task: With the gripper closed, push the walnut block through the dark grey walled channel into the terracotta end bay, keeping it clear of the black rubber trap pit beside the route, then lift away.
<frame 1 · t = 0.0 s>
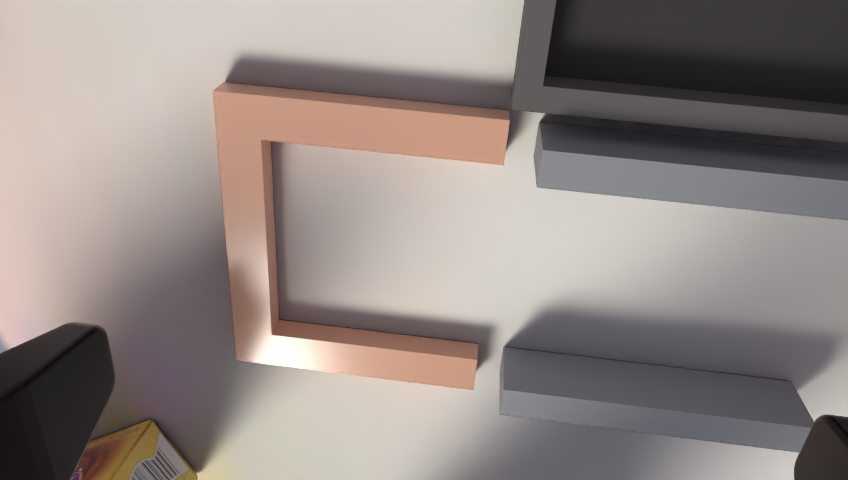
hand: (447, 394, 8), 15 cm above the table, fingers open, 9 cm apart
candy box: (106, 463, 32), on the table
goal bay: (381, 244, 25), on the table
walled tunnel: (671, 276, 24), on the table
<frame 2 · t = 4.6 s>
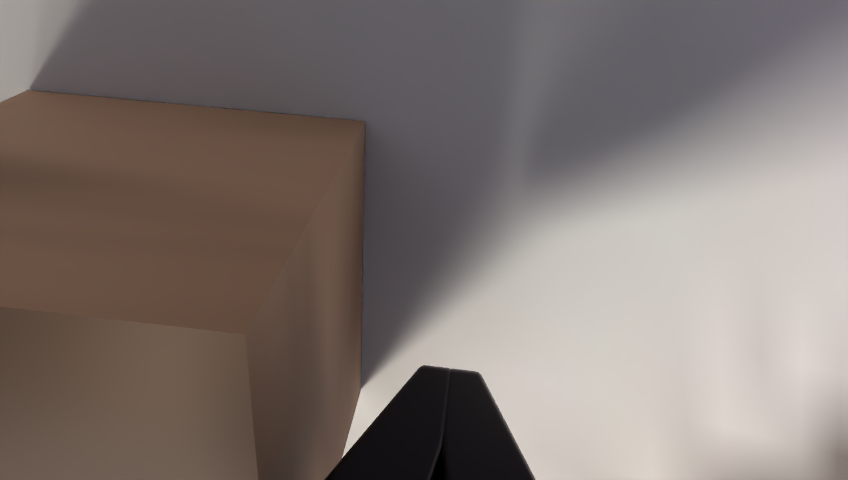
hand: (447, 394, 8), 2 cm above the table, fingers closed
walnut block: (210, 254, 11), on the table, touching gripper
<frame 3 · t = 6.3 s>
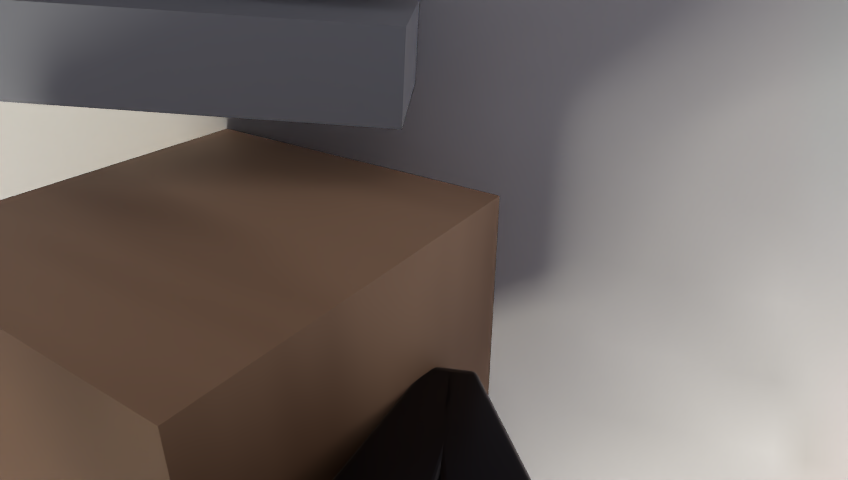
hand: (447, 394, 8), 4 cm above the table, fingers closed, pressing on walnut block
walnut block: (353, 305, 11), point 1 cm above the table, tilted 31°, touching gripper
walled tunnel: (104, 279, 12), on the table
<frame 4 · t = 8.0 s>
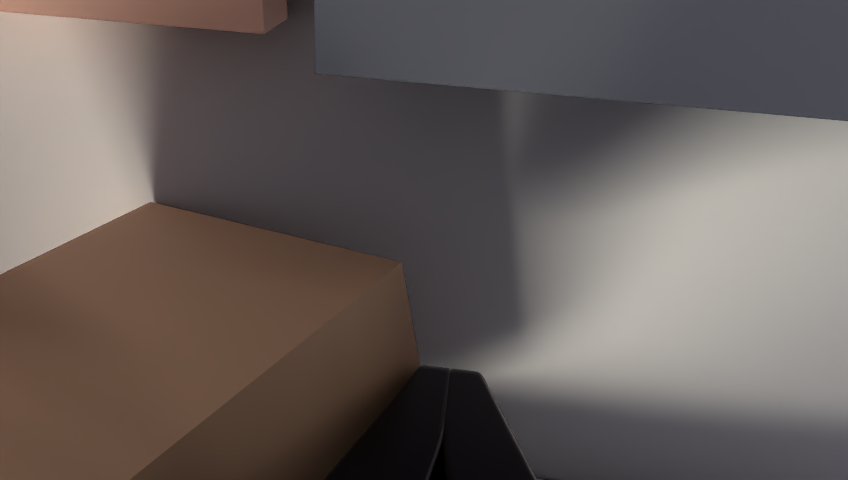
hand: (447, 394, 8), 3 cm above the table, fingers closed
walnut block: (297, 371, 10), point 1 cm above the table, tilted 29°, touching gripper
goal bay: (61, 247, 11), on the table
walled tunnel: (703, 316, 10), on the table
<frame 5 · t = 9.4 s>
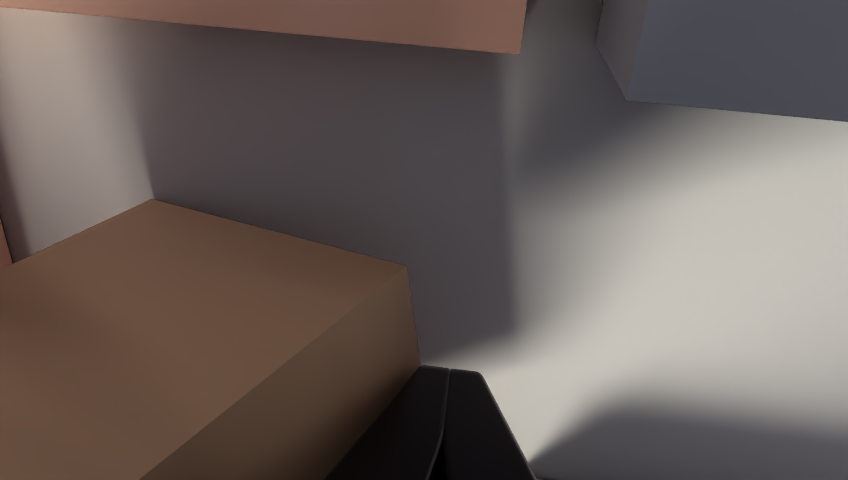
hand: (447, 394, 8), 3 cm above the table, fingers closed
walnut block: (296, 371, 10), point 1 cm above the table, tilted 29°, touching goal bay, gripper
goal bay: (239, 264, 11), on the table
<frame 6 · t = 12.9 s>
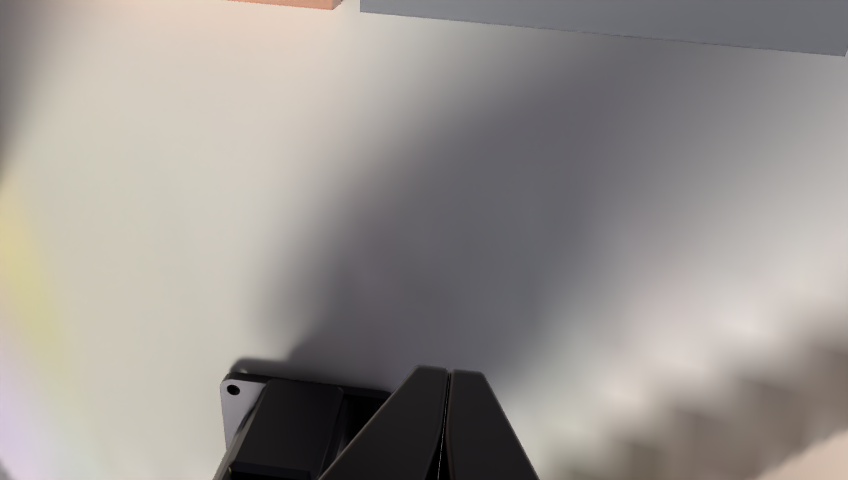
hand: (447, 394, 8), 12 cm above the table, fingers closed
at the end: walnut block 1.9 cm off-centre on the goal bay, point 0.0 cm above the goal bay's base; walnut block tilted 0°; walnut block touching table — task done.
